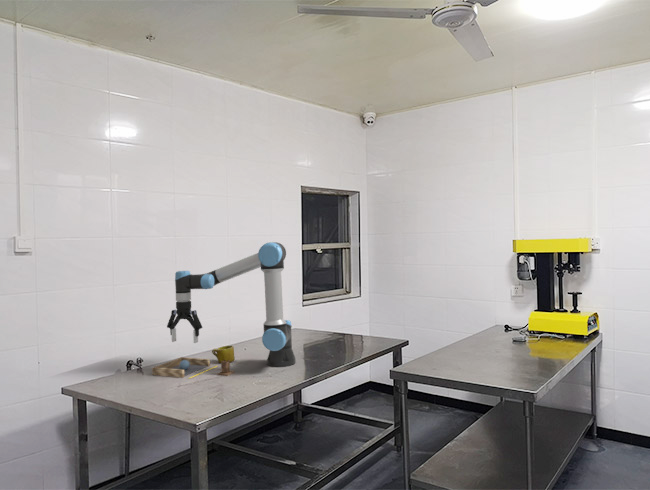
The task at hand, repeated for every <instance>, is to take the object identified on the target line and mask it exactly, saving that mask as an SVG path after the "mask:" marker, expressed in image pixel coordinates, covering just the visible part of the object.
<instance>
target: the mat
mask: <svg viewBox="0 0 650 490" xmlns="http://www.w3.org/2000/svg"><path fill="white" fill-rule="evenodd" d="M207 367H208V366H204V365H191V364H190V366H189V368H188V369H186V370H184V376H185V377H186V376H188V375H190V374H193V373H195V372H197V371H200V370H202V369H204V368H207ZM170 369H181V368H180V365H178V366H175V367H173V368H170Z"/></svg>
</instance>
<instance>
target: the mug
mask: <svg viewBox="0 0 650 490" xmlns="http://www.w3.org/2000/svg"><path fill="white" fill-rule="evenodd" d="M211 353H212V354H213V356H215V357H216V359H217V360H218V363H219V364H221V361H224V360H226V361H228V360H230V363H233V362H235V349H234V346H233V345H225V346H220V347H218V348H213V349H212V350H211Z"/></svg>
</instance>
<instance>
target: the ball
mask: <svg viewBox="0 0 650 490" xmlns="http://www.w3.org/2000/svg"><path fill="white" fill-rule="evenodd" d="M189 366H190V364H189V362H188V361H187V360H183V361H181V362H180V368H181V369H182V370H186V369H188V368H189Z"/></svg>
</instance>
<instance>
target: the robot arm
mask: <svg viewBox="0 0 650 490" xmlns="http://www.w3.org/2000/svg"><path fill="white" fill-rule="evenodd" d="M286 257H287V250H286V247H285V246H284V245H283V244H281V243H280V242H274V241H272V242H271V241H270V242H265V243H264V244H262V246H261V247H260V248H259V249H258V252H257V253H255V254H253V255H252V254H251V255H248V256H247V257H244V258H242V259H239V260H236V261H234V262H232V263H229V264H227V265H225V266H222V267H220V268H217V269H214V270H212V271H210V272H207V273H201V274H199V273H198V274H191V271H190V270H177V271H176V272H175V273H174V274H175V275H174V276H175V277H174V283H175V284H174V285H175V301H176V302H175V308H176V309H172V310H171V312H170V313H171V314H170V317H169V320H168V322H167V324H166V328H167V329H169V330H170V336H171V342H172V343H174V342H177V328H176V326H177V325H178V324H179V322H180V320H187V321H188V323H190V326H191V327H192V328H193V333H192V336H193V344H197V343H199V336H200V330H201V329H203V326H202V323H201V320H200V318H199V317H198V315H197V314H198V313H197V310H192V301H191V300H192V297H191V296H192V291H191V290H210V289H213V288H214V287H215V286H216V285H219V284H221V283H223V282H226V281H229V280H231V279H234V278H236V277H240V276H242V275H244V274H246V273H249V272H252V271H254V270H256V269H260V270H261V271H262V273H263V276H264V280H263V281H264V298H265V321H264V322H263V334H262V337H261V341H262V344H263V346H264V347H265V349H267V350H269V353H268V355H267V359H266V364H267V366H270V367H277V368H280V367H289V366H290V367H291V366H293V365H295V364H296V361H297V360H296V355H295V354H294V351H293V346H292V345H293V344H292V343H293V339H292V336H293V335H292V327H293V326H292V322H291V321H290V320H289V319H288V320H287V319H284V308H283V307H284V305H283V285H282V272H283V271H284V270H285V266H284V265H285V262H284V260H285V259H286Z"/></svg>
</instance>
